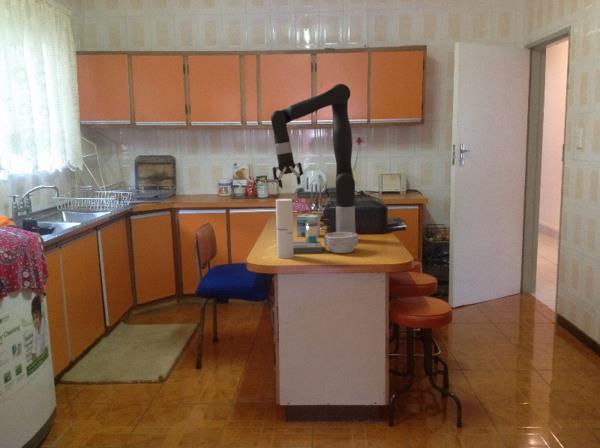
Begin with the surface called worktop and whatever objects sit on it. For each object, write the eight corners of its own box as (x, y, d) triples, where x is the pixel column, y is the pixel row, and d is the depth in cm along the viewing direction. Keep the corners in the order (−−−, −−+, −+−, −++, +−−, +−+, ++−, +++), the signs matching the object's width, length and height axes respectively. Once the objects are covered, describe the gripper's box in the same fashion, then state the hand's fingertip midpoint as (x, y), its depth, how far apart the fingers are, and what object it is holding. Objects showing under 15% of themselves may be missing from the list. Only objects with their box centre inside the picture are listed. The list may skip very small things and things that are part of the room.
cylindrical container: (277, 254, 242) (275, 199, 238) (293, 254, 243) (291, 198, 238) (277, 258, 235) (276, 201, 231) (294, 258, 236) (292, 200, 231)
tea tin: (306, 243, 253) (305, 222, 251) (318, 243, 253) (317, 222, 251) (306, 246, 247) (305, 224, 245) (318, 246, 247) (318, 224, 245)
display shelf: (320, 246, 257) (320, 238, 257) (321, 252, 244) (321, 244, 244) (284, 247, 257) (284, 239, 257) (283, 253, 244) (283, 244, 244)
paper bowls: (324, 248, 254) (324, 231, 253) (357, 247, 254) (356, 230, 253) (324, 255, 239) (324, 237, 238) (359, 255, 239) (359, 237, 238)
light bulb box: (296, 236, 283) (296, 216, 281) (301, 234, 289) (301, 214, 287) (315, 237, 279) (315, 216, 277) (320, 235, 285) (320, 214, 283)
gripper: (271, 155, 256) (277, 189, 257) (300, 149, 258) (306, 183, 260) (268, 155, 263) (274, 188, 265) (297, 150, 266) (302, 183, 267)
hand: (290, 186), depth 262 cm, fingers open, 8 cm apart
